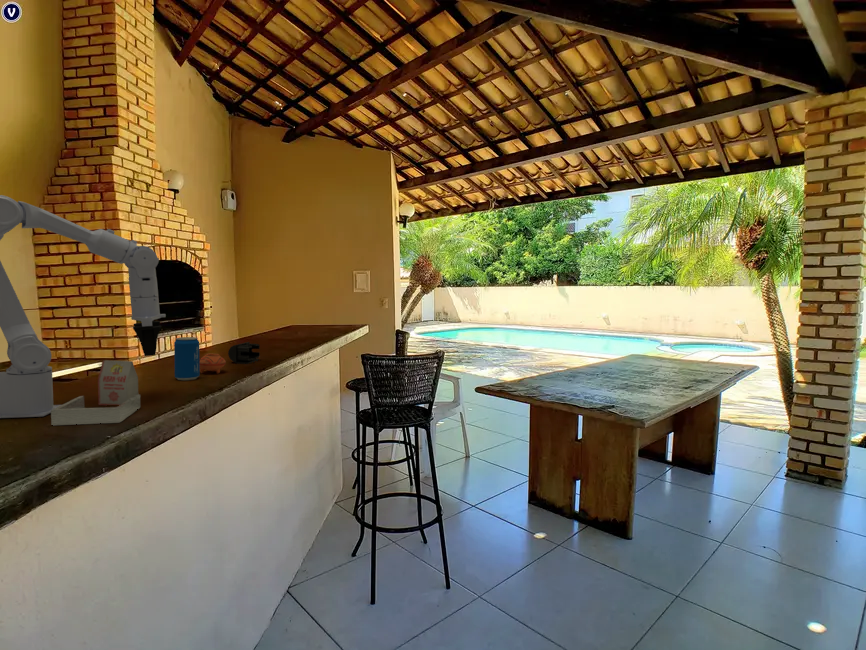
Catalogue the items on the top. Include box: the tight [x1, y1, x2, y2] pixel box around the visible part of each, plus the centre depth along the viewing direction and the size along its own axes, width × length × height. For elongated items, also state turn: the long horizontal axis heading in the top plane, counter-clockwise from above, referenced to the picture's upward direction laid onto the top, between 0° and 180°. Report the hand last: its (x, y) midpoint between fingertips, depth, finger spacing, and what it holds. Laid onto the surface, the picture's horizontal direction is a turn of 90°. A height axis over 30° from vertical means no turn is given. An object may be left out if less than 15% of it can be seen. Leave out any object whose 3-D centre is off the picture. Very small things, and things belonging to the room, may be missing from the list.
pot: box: [200, 352, 227, 375], centre depth 145 cm, size 8×8×7 cm
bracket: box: [50, 393, 141, 426], centre depth 96 cm, size 12×12×3 cm
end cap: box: [227, 341, 261, 365], centre depth 167 cm, size 10×7×7 cm
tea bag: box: [97, 359, 139, 406], centre depth 106 cm, size 4×7×10 cm, turn 88°
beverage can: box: [173, 336, 201, 381], centre depth 135 cm, size 6×6×12 cm
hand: (149, 353), depth 112 cm, fingers open, 7 cm apart
